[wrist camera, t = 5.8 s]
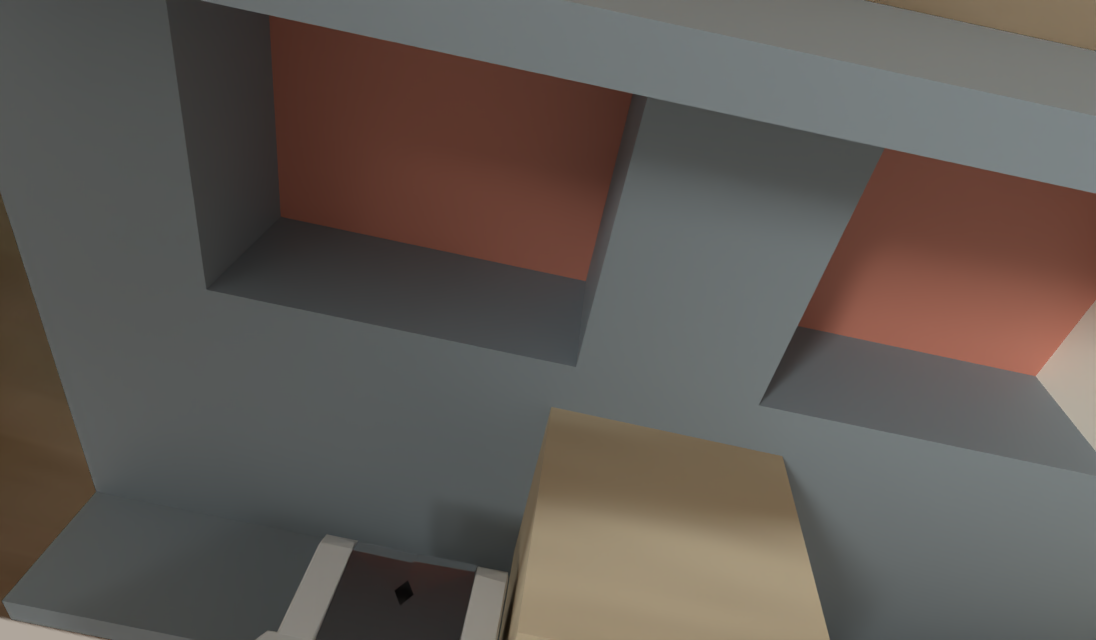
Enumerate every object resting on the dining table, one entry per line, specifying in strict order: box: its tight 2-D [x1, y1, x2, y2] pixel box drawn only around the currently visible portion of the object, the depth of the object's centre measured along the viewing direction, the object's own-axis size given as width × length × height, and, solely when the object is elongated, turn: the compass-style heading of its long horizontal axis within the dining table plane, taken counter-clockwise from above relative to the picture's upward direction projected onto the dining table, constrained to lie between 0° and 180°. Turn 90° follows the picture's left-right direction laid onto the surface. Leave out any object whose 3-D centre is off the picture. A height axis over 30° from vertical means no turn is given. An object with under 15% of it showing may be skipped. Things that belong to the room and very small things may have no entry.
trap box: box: [0, 0, 1096, 640], centre depth 11 cm, size 12×22×6 cm, turn 80°
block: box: [499, 407, 830, 640], centre depth 11 cm, size 4×4×4 cm
